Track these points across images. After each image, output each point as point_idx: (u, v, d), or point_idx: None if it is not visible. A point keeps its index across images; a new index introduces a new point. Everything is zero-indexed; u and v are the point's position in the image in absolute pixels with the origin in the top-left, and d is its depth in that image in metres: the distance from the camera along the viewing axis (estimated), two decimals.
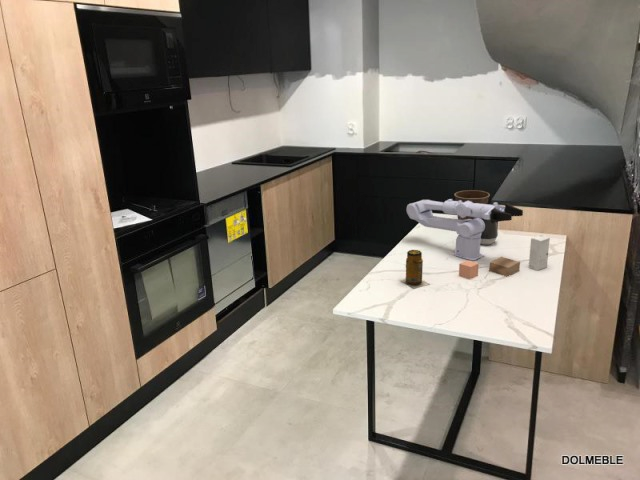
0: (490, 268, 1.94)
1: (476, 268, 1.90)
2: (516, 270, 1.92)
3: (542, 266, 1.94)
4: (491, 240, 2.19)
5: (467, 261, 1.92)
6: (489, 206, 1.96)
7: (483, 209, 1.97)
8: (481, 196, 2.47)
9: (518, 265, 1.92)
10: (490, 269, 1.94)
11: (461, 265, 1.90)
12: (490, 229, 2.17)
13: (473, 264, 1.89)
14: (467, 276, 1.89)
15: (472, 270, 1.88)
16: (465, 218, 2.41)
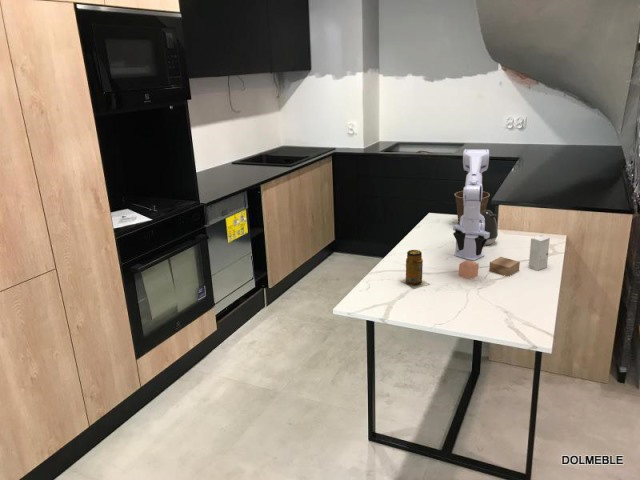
0: (490, 268, 1.94)
1: (476, 268, 1.90)
2: (516, 270, 1.92)
3: (542, 266, 1.94)
4: (491, 240, 2.19)
5: (467, 261, 1.92)
6: (464, 225, 1.85)
7: (463, 219, 1.86)
8: None
9: (518, 264, 1.93)
10: (490, 269, 1.94)
11: (461, 265, 1.90)
12: (490, 229, 2.17)
13: (473, 264, 1.89)
14: (467, 276, 1.89)
15: (472, 270, 1.88)
16: None
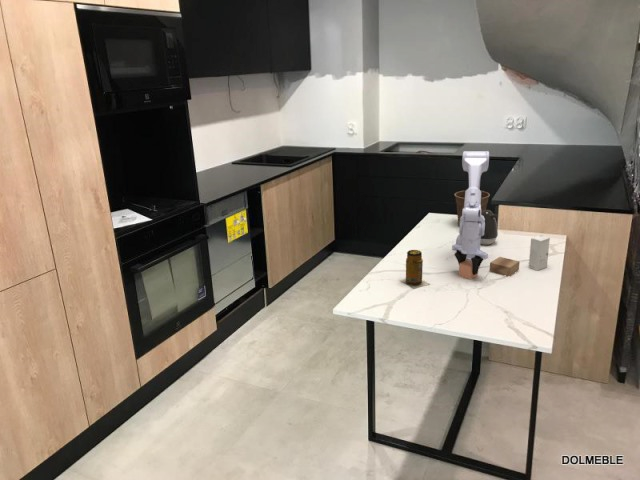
0: (491, 269, 1.94)
1: None
2: (516, 270, 1.93)
3: (542, 266, 1.94)
4: (491, 240, 2.19)
5: (467, 261, 1.92)
6: (463, 246, 1.87)
7: (462, 240, 1.88)
8: (481, 196, 2.47)
9: (518, 264, 1.93)
10: (491, 270, 1.94)
11: (461, 265, 1.90)
12: (490, 229, 2.17)
13: None
14: (467, 276, 1.89)
15: None
16: None
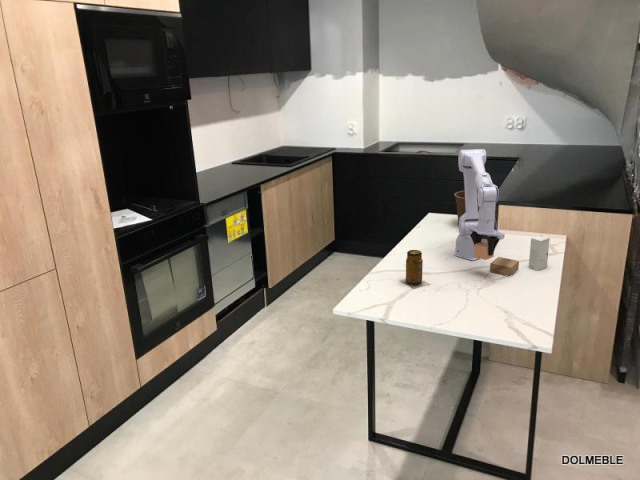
0: (491, 269, 1.93)
1: None
2: (516, 269, 1.93)
3: (542, 266, 1.94)
4: None
5: (483, 242, 1.91)
6: (479, 226, 1.86)
7: (478, 220, 1.87)
8: None
9: (518, 264, 1.93)
10: (491, 270, 1.93)
11: (477, 246, 1.89)
12: None
13: None
14: (483, 257, 1.88)
15: None
16: None
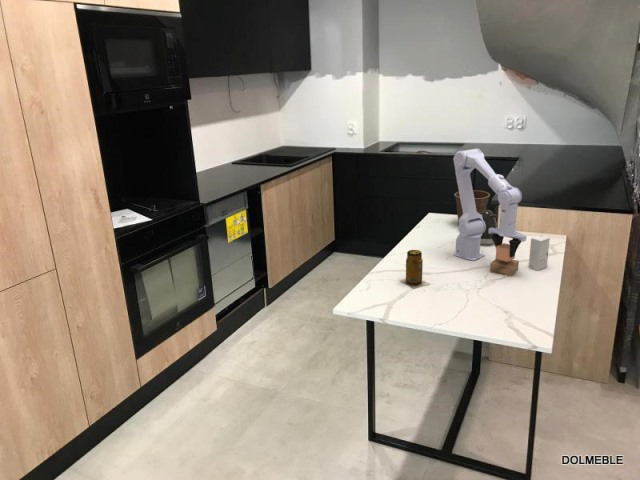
0: (491, 269, 1.93)
1: None
2: (516, 269, 1.93)
3: (542, 266, 1.94)
4: (491, 240, 2.19)
5: (504, 244, 1.93)
6: (500, 228, 1.88)
7: None
8: (481, 196, 2.47)
9: (517, 264, 1.93)
10: (491, 270, 1.93)
11: (498, 248, 1.91)
12: None
13: None
14: (504, 258, 1.90)
15: None
16: None
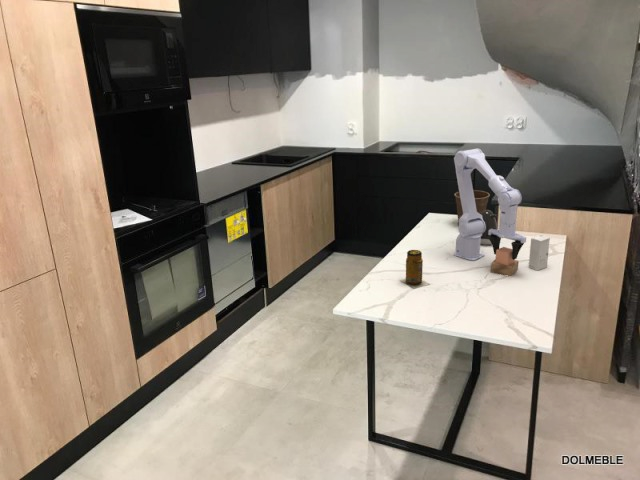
0: (491, 269, 1.93)
1: None
2: (516, 269, 1.93)
3: (542, 266, 1.94)
4: None
5: (504, 248, 1.93)
6: (500, 230, 1.88)
7: None
8: (481, 196, 2.47)
9: (517, 264, 1.94)
10: (492, 270, 1.93)
11: (498, 251, 1.91)
12: None
13: (510, 250, 1.90)
14: (504, 262, 1.90)
15: (509, 256, 1.89)
16: None
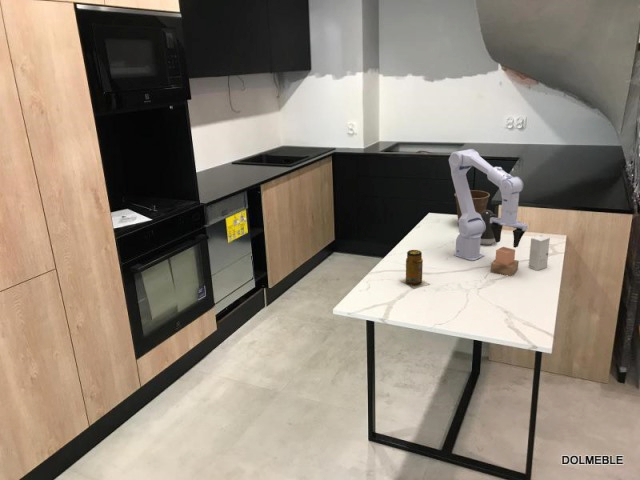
0: (492, 269, 1.93)
1: (513, 254, 1.91)
2: (516, 269, 1.93)
3: (542, 266, 1.94)
4: (491, 240, 2.19)
5: (503, 247, 1.93)
6: (502, 218, 1.88)
7: (501, 212, 1.89)
8: (481, 196, 2.47)
9: (517, 264, 1.94)
10: (492, 270, 1.93)
11: (498, 251, 1.91)
12: (490, 229, 2.17)
13: (510, 250, 1.90)
14: (504, 262, 1.90)
15: (509, 256, 1.89)
16: None
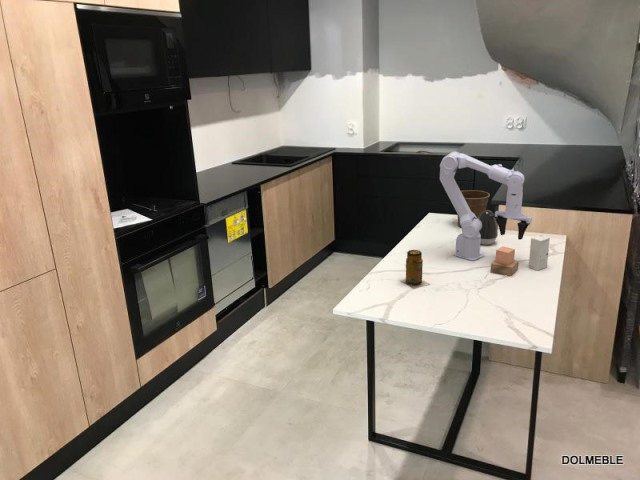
0: (492, 269, 1.93)
1: (513, 254, 1.91)
2: (516, 269, 1.93)
3: (542, 266, 1.94)
4: (491, 240, 2.19)
5: (503, 247, 1.94)
6: (506, 211, 1.95)
7: None
8: (481, 196, 2.47)
9: (517, 264, 1.93)
10: (492, 270, 1.93)
11: (498, 251, 1.91)
12: (490, 229, 2.17)
13: (510, 250, 1.91)
14: (504, 262, 1.91)
15: (509, 255, 1.90)
16: None
